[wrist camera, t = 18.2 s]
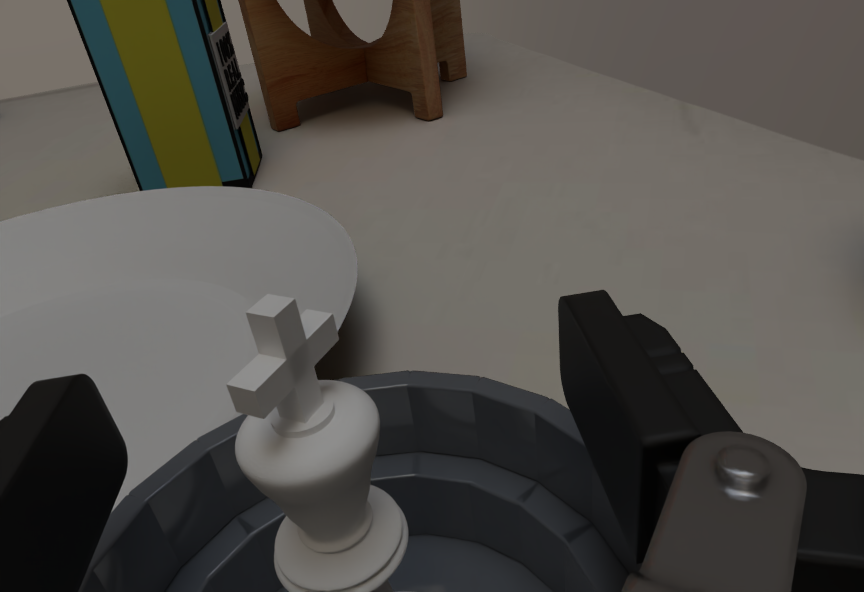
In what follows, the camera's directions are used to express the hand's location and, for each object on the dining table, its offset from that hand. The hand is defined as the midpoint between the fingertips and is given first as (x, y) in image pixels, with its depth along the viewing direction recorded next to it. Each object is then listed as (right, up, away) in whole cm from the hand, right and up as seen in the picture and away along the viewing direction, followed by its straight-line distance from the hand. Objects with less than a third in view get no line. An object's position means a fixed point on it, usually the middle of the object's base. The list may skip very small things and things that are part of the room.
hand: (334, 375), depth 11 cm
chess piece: (+1, -7, +2) cm, 8 cm away
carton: (-14, +10, +35) cm, 39 cm away
